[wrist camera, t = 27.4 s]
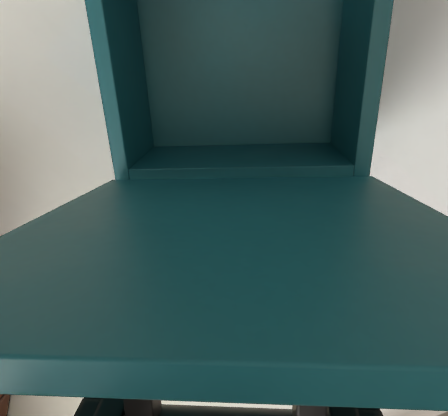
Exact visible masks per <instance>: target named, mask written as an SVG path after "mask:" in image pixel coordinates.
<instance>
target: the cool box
mask: <svg viewBox="0 0 448 416" xmlns="http://www.w3.org/2000/svg"><path fill="white" fill-rule="evenodd" d="M393 2H394V0H85V5H86V10H87V16H88V22H89V28H90V34H91V40H92V45H93V51H94V57H95V63H96V69H97V74H98V80H99V86H100V92H101V98H102V104H103V109H104V115H105V121H106V127H107V133H108V139H109V144H110V150H111V156H112V162H113V168H114V173H115V179H116V180H140V179H211V178H282V177H352V176H369V175H370V168H371V160H372V153H373V146H374V139H375V132H376V124H377V117H378V110H379V103H380V96H381V88H382V81H383V74H384V67H385V60H386V52H387V45H388V38H389V31H390V24H391V16H392V9H393Z"/></svg>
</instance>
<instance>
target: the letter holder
mask: <svg viewBox="0 0 448 416" xmlns="http://www.w3.org/2000/svg"><path fill="white" fill-rule="evenodd" d="M9 399H10V395H9V394H0V416H7V411H8V405H9Z"/></svg>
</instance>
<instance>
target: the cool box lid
mask: <svg viewBox="0 0 448 416" xmlns="http://www.w3.org/2000/svg"><path fill="white" fill-rule="evenodd" d="M0 394H9V395H35V396H62V397H88V398H115V399H123V403H124V410H125V416H327V412H328V407H354V408H381V409H408V410H434V411H448V216H446V215H444V214H442V213H440V212H438V211H436V210H435V209H433V208H431V207H429V206H427V205H425V204H423V203H421V202H419V201H418V200H416V199H414V198H412V197H410V196H408V195H406V194H404V193H402V192H401V191H399V190H397V189H395V188H393V187H391V186H389V185H387V184H385V183H384V182H382V181H380V180H378V179H376V178H374V177H372V176H352V177H282V178H211V179H140V180H111V181H110V182H108V183H106V184H104V185H102V186H100V187H98V188H96V189H94V190H92V191H90V192H88V193H86V194H84V195H82V196H80V197H78V198H76V199H74V200H72V201H70V202H68V203H66V204H64V205H62V206H60V207H58V208H56V209H54V210H52V211H50V212H48V213H46V214H44V215H42V216H40V217H38V218H36V219H34V220H32V221H30V222H28V223H26V224H24V225H22V226H20V227H18V228H16V229H14V230H12V231H10V232H8V233H6V234H4V235H2V236H0ZM161 400H168V401H195V402H221V403H248V404H275V405H293V407H292V409H268V408H243V407H217V406H191V405H165V404H161Z"/></svg>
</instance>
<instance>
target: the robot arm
mask: <svg viewBox="0 0 448 416" xmlns="http://www.w3.org/2000/svg"><path fill="white" fill-rule="evenodd" d="M74 416H125V410H124V403H123V399H115V398H88V397H84V399H82V401H81V403H80V405H79V407H78V409H77V411H76V413H75V415H74ZM327 416H383V415H382V412H381V411H380V408H354V407H328V412H327Z"/></svg>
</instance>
